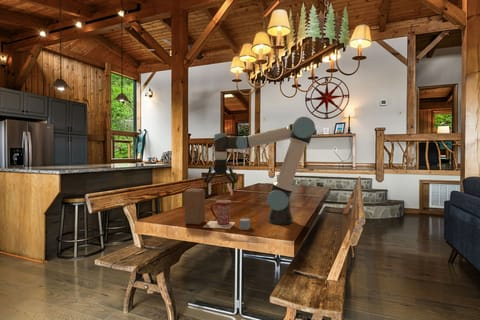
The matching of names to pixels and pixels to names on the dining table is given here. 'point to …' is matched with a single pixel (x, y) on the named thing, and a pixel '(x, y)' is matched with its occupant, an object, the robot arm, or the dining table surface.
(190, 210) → the wooden block
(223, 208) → the mug
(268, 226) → the dining table surface
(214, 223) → the letter
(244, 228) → the cube
